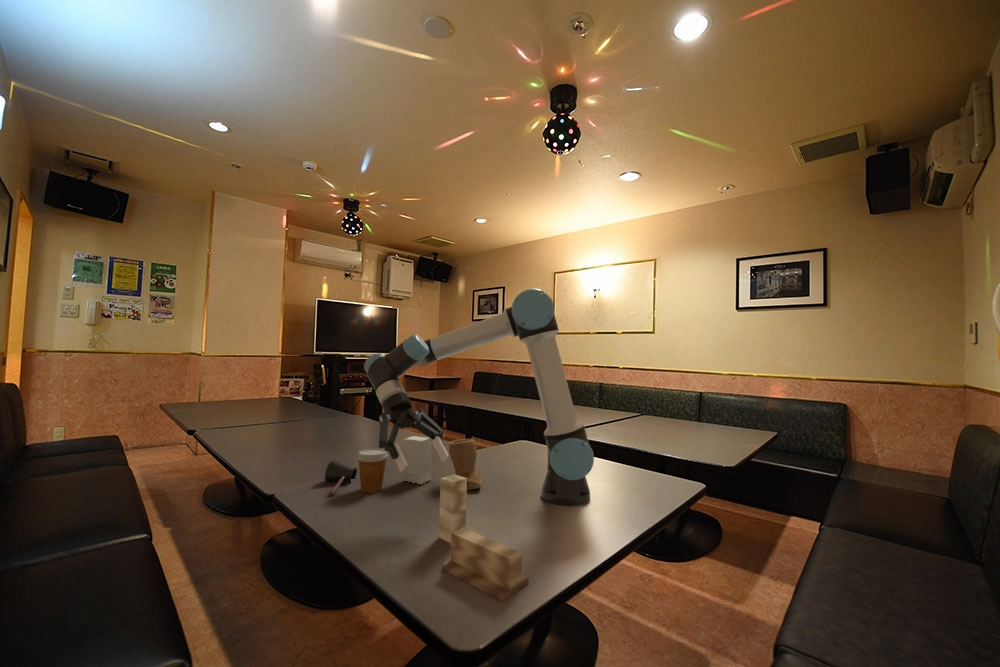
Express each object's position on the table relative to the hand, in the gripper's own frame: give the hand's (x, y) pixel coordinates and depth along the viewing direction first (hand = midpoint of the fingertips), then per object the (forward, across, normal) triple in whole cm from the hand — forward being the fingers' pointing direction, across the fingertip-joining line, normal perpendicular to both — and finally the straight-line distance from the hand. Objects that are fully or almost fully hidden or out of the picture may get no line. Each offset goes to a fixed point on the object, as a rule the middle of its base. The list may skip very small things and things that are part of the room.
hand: (426, 463), depth 103 cm
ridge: (+30, +7, +8) cm, 32 cm away
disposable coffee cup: (-12, -5, -34) cm, 37 cm away
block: (+18, 0, -4) cm, 19 cm away
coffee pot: (-20, +1, -42) cm, 47 cm away
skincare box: (-10, -21, -32) cm, 39 cm away
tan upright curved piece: (0, -30, -22) cm, 38 cm away
